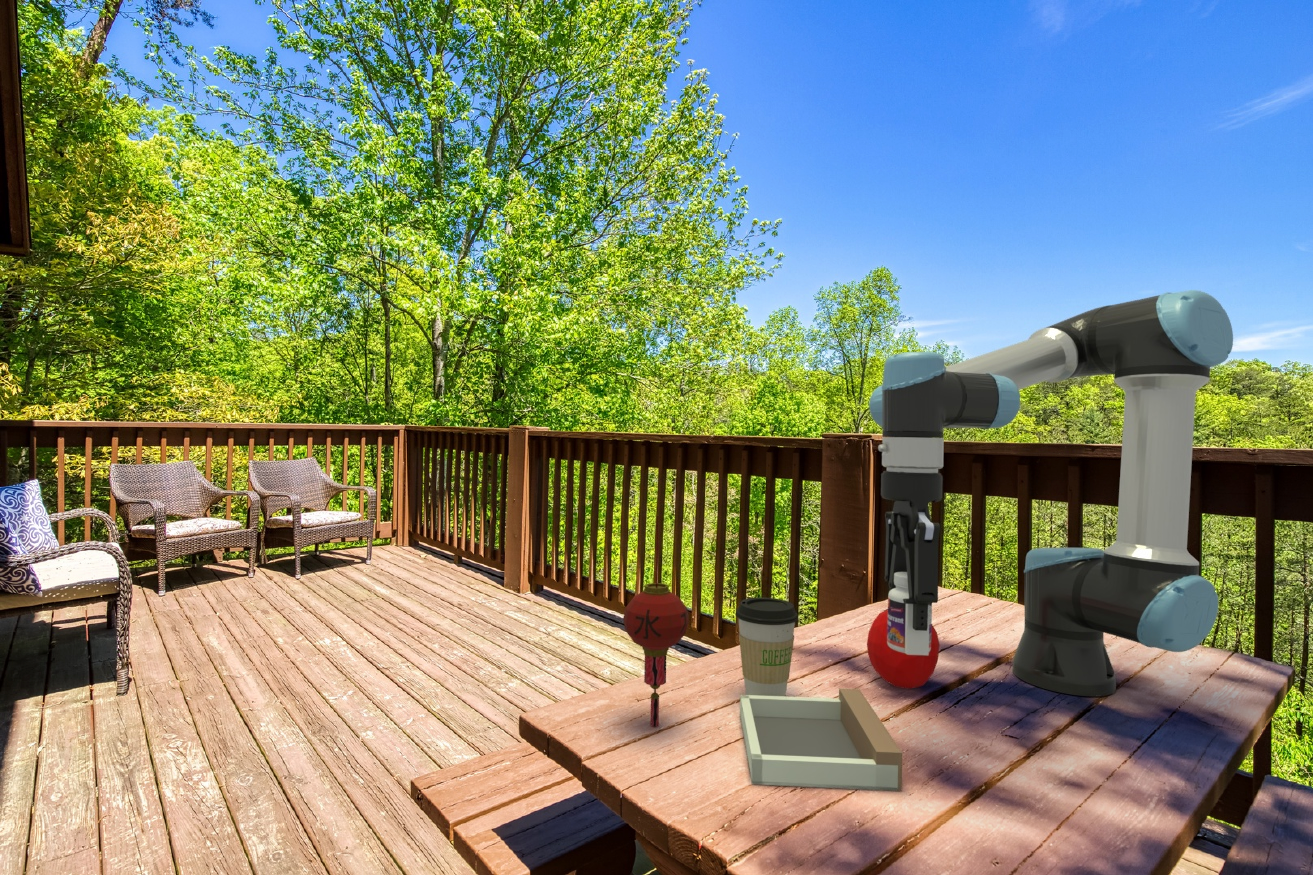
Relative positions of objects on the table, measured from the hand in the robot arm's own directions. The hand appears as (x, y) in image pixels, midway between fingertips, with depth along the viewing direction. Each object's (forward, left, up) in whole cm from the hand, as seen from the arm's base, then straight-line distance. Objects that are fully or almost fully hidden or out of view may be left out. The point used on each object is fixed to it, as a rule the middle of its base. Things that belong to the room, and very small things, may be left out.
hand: (908, 645), depth 83 cm
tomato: (-7, -24, -14) cm, 29 cm away
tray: (+13, 0, -14) cm, 19 cm away
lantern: (+34, -5, -14) cm, 37 cm away
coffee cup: (+17, -16, -14) cm, 27 cm away
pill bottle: (0, 0, -1) cm, 1 cm away
